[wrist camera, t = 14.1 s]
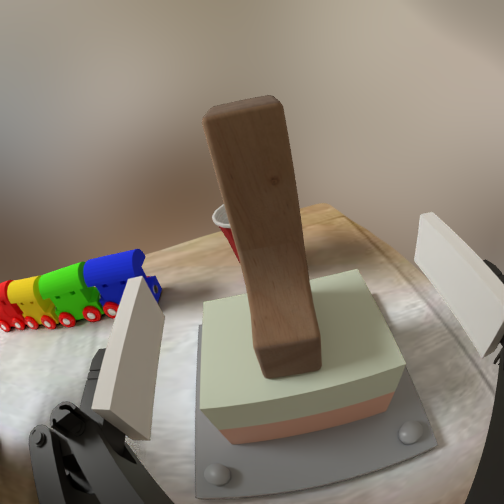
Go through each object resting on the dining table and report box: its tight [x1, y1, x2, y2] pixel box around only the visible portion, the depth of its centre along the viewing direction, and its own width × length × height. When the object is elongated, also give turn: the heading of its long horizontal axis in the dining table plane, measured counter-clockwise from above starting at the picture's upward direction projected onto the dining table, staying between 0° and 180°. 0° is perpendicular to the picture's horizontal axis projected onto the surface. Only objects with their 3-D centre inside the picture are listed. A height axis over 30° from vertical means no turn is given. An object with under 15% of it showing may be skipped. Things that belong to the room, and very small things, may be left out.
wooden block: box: [202, 95, 322, 379], centre depth 19 cm, size 9×4×18 cm, turn 2°
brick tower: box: [195, 269, 438, 499], centre depth 27 cm, size 24×24×11 cm
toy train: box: [0, 249, 162, 332], centre depth 46 cm, size 45×7×11 cm, turn 95°
